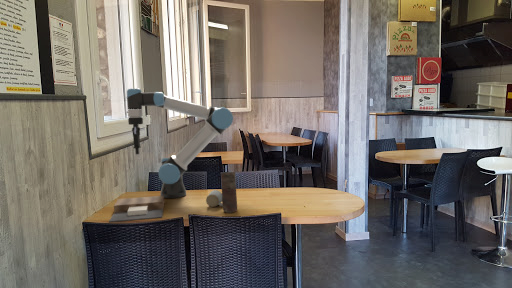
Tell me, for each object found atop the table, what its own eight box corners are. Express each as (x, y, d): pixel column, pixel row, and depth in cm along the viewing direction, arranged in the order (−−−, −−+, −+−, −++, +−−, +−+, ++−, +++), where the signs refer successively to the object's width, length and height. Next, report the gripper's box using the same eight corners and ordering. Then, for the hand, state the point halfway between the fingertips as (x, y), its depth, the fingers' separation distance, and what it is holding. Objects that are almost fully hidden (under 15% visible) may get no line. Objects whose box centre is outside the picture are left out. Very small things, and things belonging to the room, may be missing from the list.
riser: (164, 202, 202) (163, 195, 202) (163, 209, 188) (162, 201, 188) (118, 206, 197) (118, 199, 196) (114, 213, 183) (113, 205, 183)
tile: (148, 209, 187) (147, 205, 186) (146, 214, 179) (146, 209, 179) (129, 211, 185) (129, 207, 184) (127, 215, 177) (127, 211, 177)
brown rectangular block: (219, 211, 182) (217, 172, 180) (230, 208, 187) (229, 170, 185) (229, 214, 176) (227, 173, 174) (240, 211, 181) (239, 171, 180)
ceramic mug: (205, 207, 189) (205, 193, 189) (209, 203, 197) (209, 189, 197) (225, 208, 188) (224, 193, 187) (228, 204, 196) (228, 190, 195)
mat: (163, 209, 187) (163, 208, 187) (162, 217, 174) (162, 216, 174) (114, 213, 182) (114, 212, 182) (109, 222, 169) (109, 221, 169)
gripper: (129, 117, 204) (132, 158, 206) (126, 117, 191) (129, 161, 194) (143, 116, 205) (145, 157, 208) (141, 117, 193) (143, 161, 195)
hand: (137, 159), depth 201 cm, fingers closed
